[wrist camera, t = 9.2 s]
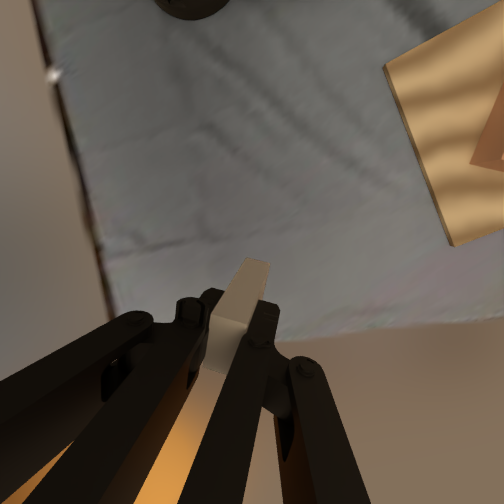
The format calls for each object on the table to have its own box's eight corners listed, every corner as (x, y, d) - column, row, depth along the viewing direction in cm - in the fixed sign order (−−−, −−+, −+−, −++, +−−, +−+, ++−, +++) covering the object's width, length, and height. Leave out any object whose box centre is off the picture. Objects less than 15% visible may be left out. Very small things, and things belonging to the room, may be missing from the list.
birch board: (382, 67, 38) (385, 63, 37) (528, -13, 34) (537, -20, 33) (450, 245, 42) (454, 247, 40) (589, 191, 38) (599, 191, 36)
